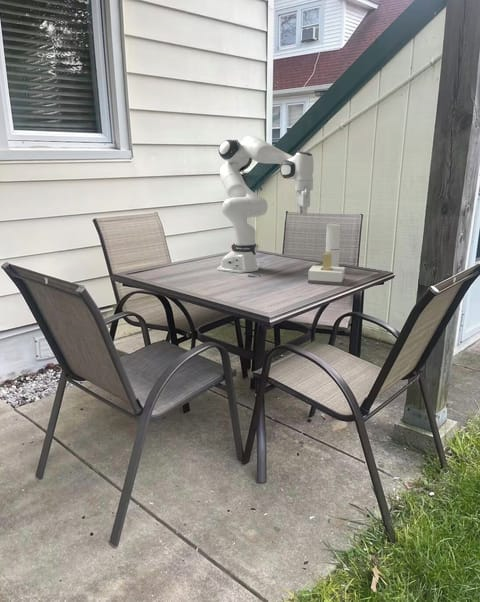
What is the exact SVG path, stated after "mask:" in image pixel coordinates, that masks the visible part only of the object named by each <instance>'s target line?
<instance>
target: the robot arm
mask: <svg viewBox="0 0 480 602" xmlns="http://www.w3.org/2000/svg"><path fill="white" fill-rule="evenodd" d="M218 154H219V156H220V157H221V159H223V160H225V163H224V164H223V165H221V166H220V168H219V177H220V180H221V183H222V185H223V187H224V189H225V191H226V194H227V195H228V197H229V198H227V199H224V201H223V203H222V205H221V211H222V215H224V216H225V217H226V219H228V220H229V221H230V223H231V224H232V227H233V230H234V243H233V244H232V245H231V246H230V248H231V250H230V252H228V253H227V254H226V255H225V256H222V259H221V264H220V265H219V266H217V271H220V272H221V271H222V272H228V273H229V272H230V273H238V274H239V273H240V274H242V273H243V274H244V273H250V272H257V271H258V270H259V266H258V261H257V250H258V249H257V243H256V241H257V239H256V229H255V227H254V226H252V225H250V224H249V223H248V221H247V220H248V219H249V218H258V217H259V218H260V217H262V216H265V214H267V211H268V209H269V205H268V202H267V200H266V198H265V197H262V196H261V195H258V194H256V193H255V192H254V191H252V190H251V189H250V188H249V187H248V185H247V184H246V181H245V180H244V178H243V177H242V175H241V172H244V171H245V170H247V169H248V168H249V167H250V166H251V164H252V162H253V161H255V162H258V163H261V164H271V165H273V164H274V165H275V164H277V165H279V172H280V173H279V174H280V175H281V177H282V178H283V179H287V180H291V179H292V180H294V191H295V192H296V204H297V205H298V207H299V214H300V215H302V216H303V217H307V214H308V213H307V212H308V208H310V206H311V191H313V189H314V177H313V176H314V175H313V174H314V171H315V169H314V164H315V163H314V156H313V154H312V153H311V152H306V151H297V152H296V153H295V154H294V155H292V154H290V153H288V152H286V151H283V150H281V149H279V148H278V147H275V146H274V145H272V144H270V143H268V142H267V141H266V140H264V139H262V138H259V137H257V136H253V135H247V136H245V137H244V138H243V139H242V141H239V140H238V139H225V140H223V141H221V143H220V145H219V146H218Z"/></svg>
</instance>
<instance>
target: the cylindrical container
mask: <svg viewBox="0 0 480 602" xmlns="http://www.w3.org/2000/svg"><path fill="white" fill-rule="evenodd" d="M341 229H342V225H341V224H339V223H338V224H337V223H328V224H326V234H325V235H326V237H325V253H332V257H331V266H333V267H340V247H341V243H340V242H341V232H342V231H341Z"/></svg>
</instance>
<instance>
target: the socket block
mask: <svg viewBox="0 0 480 602" xmlns="http://www.w3.org/2000/svg"><path fill="white" fill-rule="evenodd" d="M345 270H346V267H344V266H339V267H333V266H331V270H323V265H314V264H313V265H312V266H311V267H310V268H309V270H308V273H307V274H308V276H307V278H308V279H307V281H308V282H307V283H308V284H318V285H319V284H320V285H321V284H322V285H335V286H342V285H343V283H344V280H345V272H346V271H345Z"/></svg>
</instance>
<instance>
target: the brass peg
mask: <svg viewBox="0 0 480 602" xmlns="http://www.w3.org/2000/svg"><path fill="white" fill-rule="evenodd" d="M331 257H332V253H326V252H323V253H322V266H323V270H331Z"/></svg>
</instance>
